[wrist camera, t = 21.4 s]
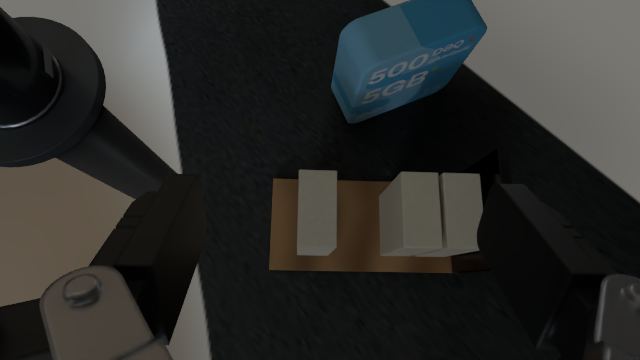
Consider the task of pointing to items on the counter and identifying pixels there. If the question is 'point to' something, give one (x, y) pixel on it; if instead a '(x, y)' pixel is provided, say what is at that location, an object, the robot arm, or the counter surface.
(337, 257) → the rack
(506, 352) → the counter surface
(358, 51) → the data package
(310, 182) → the beige block
